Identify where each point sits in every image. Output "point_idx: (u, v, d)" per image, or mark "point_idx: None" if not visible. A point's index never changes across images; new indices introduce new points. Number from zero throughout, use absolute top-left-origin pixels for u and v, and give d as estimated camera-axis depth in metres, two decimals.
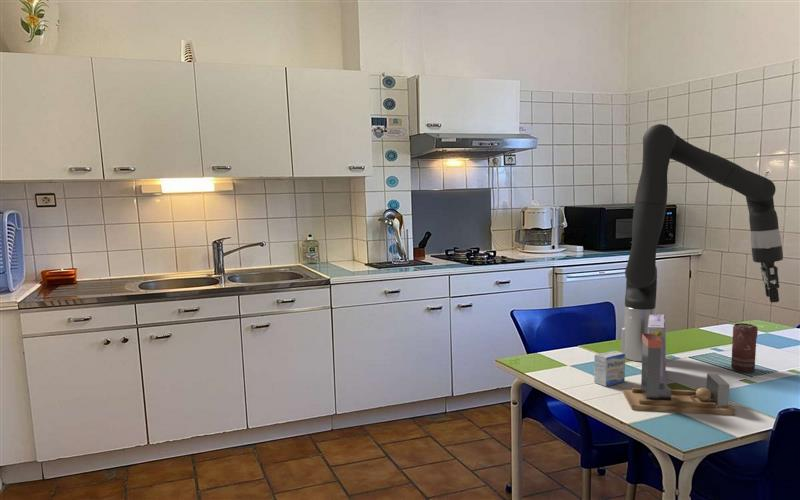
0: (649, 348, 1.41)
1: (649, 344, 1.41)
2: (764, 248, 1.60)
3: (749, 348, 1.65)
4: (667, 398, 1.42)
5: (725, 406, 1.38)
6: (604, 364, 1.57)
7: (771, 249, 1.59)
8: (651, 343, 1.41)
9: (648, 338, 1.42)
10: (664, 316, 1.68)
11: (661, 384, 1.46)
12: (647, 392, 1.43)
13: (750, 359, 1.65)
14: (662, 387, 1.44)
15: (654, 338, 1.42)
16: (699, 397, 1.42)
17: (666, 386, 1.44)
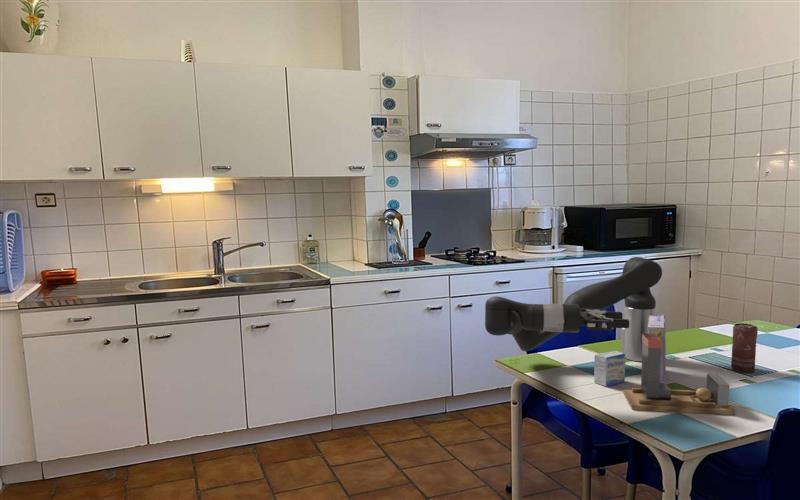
0: (649, 348, 1.41)
1: (649, 344, 1.41)
2: (563, 324, 1.44)
3: (749, 348, 1.65)
4: (667, 398, 1.42)
5: (725, 406, 1.38)
6: (604, 364, 1.57)
7: (565, 318, 1.44)
8: (651, 343, 1.41)
9: (648, 338, 1.42)
10: (664, 316, 1.68)
11: (661, 384, 1.46)
12: (647, 392, 1.43)
13: (750, 359, 1.65)
14: (662, 387, 1.44)
15: (654, 338, 1.42)
16: (699, 397, 1.42)
17: (666, 386, 1.44)
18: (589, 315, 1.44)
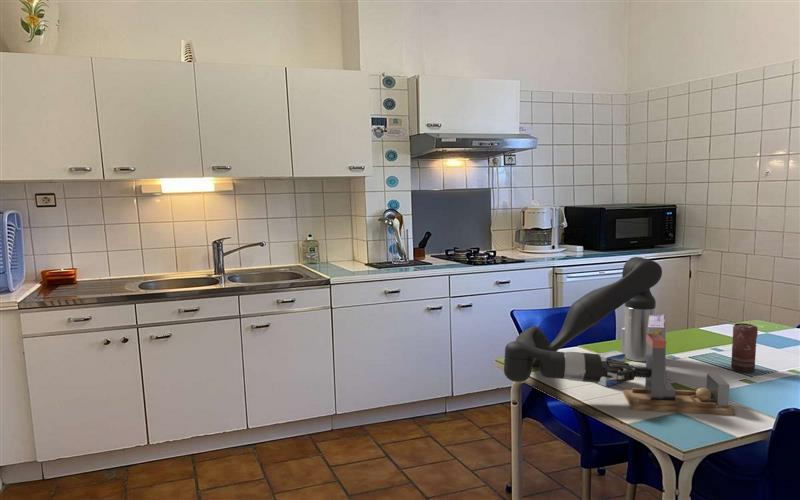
0: (653, 348, 1.41)
1: (653, 344, 1.41)
2: (584, 374, 1.43)
3: (749, 348, 1.65)
4: (671, 398, 1.42)
5: (725, 406, 1.38)
6: None
7: (587, 368, 1.43)
8: (655, 343, 1.41)
9: (652, 338, 1.42)
10: (664, 316, 1.68)
11: (665, 384, 1.46)
12: (651, 392, 1.42)
13: (750, 359, 1.65)
14: (667, 387, 1.44)
15: (658, 338, 1.42)
16: (699, 397, 1.42)
17: (670, 386, 1.44)
18: (610, 366, 1.43)
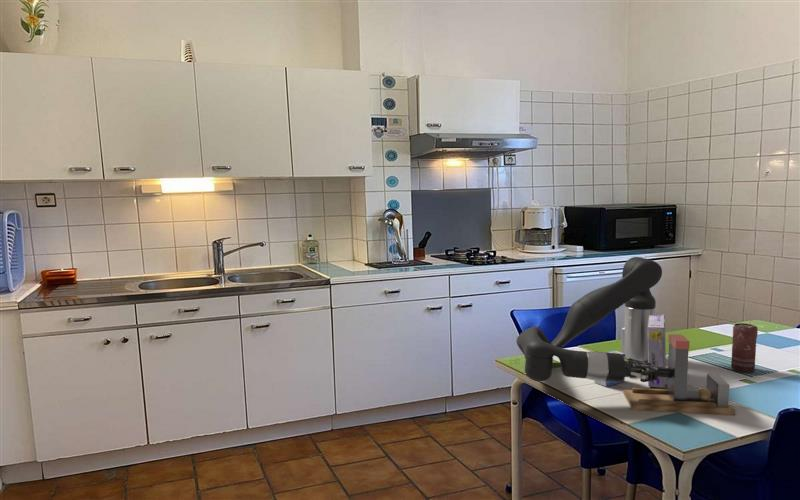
0: (677, 349, 1.40)
1: (677, 345, 1.40)
2: (607, 374, 1.41)
3: (749, 348, 1.65)
4: (695, 399, 1.41)
5: (725, 406, 1.38)
6: None
7: (610, 368, 1.41)
8: (678, 344, 1.40)
9: (675, 339, 1.41)
10: (664, 316, 1.68)
11: (688, 385, 1.45)
12: (674, 393, 1.41)
13: (750, 359, 1.65)
14: (689, 388, 1.43)
15: (681, 339, 1.41)
16: (699, 397, 1.42)
17: (693, 387, 1.43)
18: (633, 366, 1.42)
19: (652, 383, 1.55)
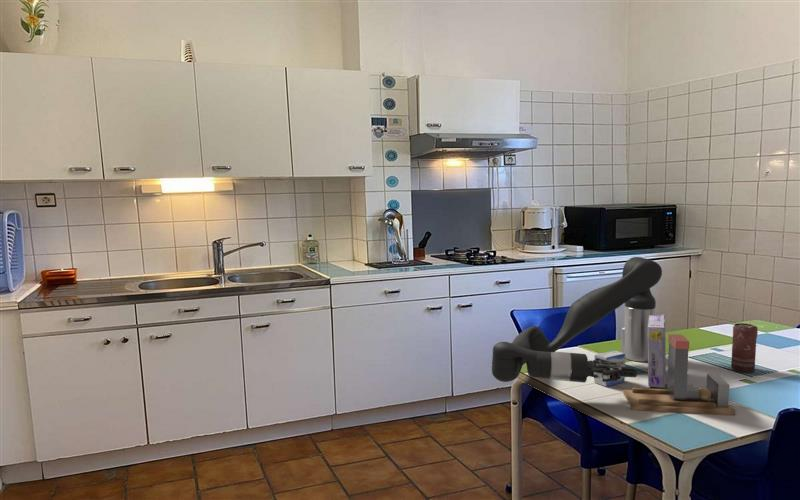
0: (676, 349, 1.40)
1: (676, 345, 1.40)
2: (571, 374, 1.44)
3: (749, 348, 1.65)
4: (694, 399, 1.41)
5: (725, 406, 1.38)
6: None
7: (573, 368, 1.44)
8: (678, 344, 1.40)
9: (675, 339, 1.41)
10: (664, 316, 1.68)
11: (688, 385, 1.45)
12: (674, 393, 1.41)
13: (750, 359, 1.65)
14: (689, 388, 1.43)
15: (681, 339, 1.41)
16: (699, 397, 1.42)
17: (693, 387, 1.43)
18: (596, 366, 1.44)
19: (652, 383, 1.55)
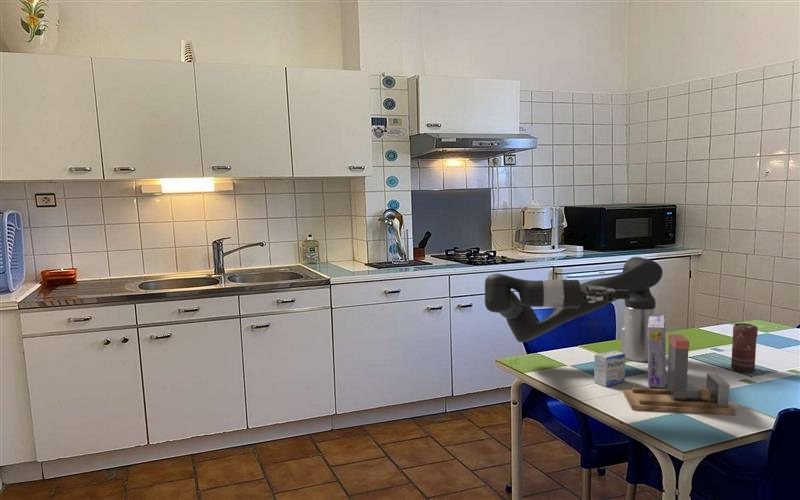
0: (676, 349, 1.40)
1: (676, 345, 1.40)
2: (563, 299, 1.43)
3: (749, 348, 1.65)
4: (694, 399, 1.41)
5: (725, 406, 1.38)
6: (604, 364, 1.57)
7: (565, 293, 1.43)
8: (678, 344, 1.40)
9: (675, 339, 1.41)
10: (664, 316, 1.68)
11: (688, 385, 1.45)
12: (674, 393, 1.41)
13: (750, 359, 1.65)
14: (689, 388, 1.43)
15: (681, 339, 1.41)
16: (699, 397, 1.42)
17: (693, 387, 1.43)
18: (589, 290, 1.43)
19: (652, 383, 1.55)
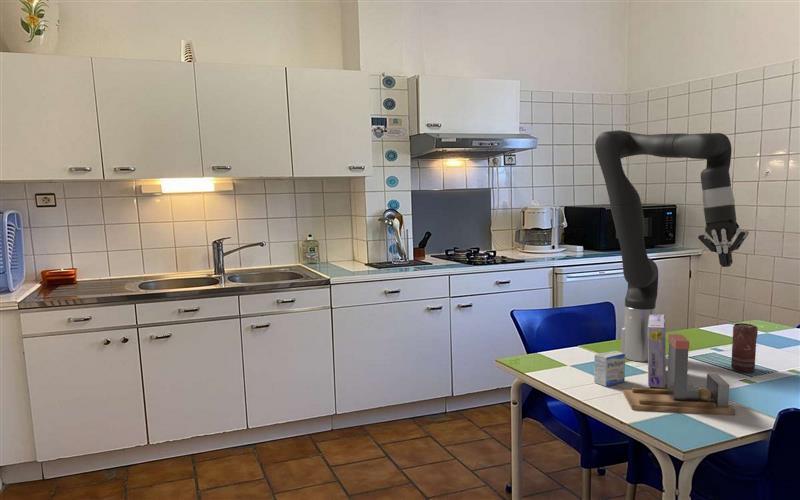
0: (676, 349, 1.40)
1: (676, 345, 1.40)
2: (731, 205, 1.50)
3: (749, 348, 1.65)
4: (694, 399, 1.41)
5: (725, 406, 1.38)
6: (604, 364, 1.57)
7: (734, 206, 1.51)
8: (678, 344, 1.40)
9: (675, 339, 1.41)
10: (664, 316, 1.68)
11: (688, 385, 1.45)
12: (674, 393, 1.41)
13: (750, 359, 1.65)
14: (689, 388, 1.43)
15: (681, 339, 1.41)
16: (699, 397, 1.42)
17: (693, 387, 1.43)
18: None
19: (652, 383, 1.55)
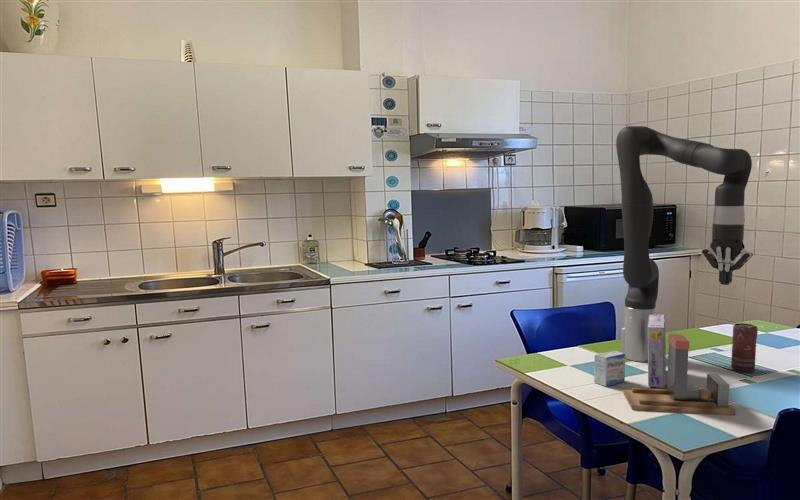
0: (676, 349, 1.40)
1: (676, 345, 1.40)
2: (740, 224, 1.48)
3: (749, 348, 1.65)
4: (694, 399, 1.41)
5: (725, 406, 1.38)
6: (604, 364, 1.57)
7: (743, 226, 1.49)
8: (678, 344, 1.40)
9: (675, 339, 1.41)
10: (664, 316, 1.68)
11: (688, 385, 1.45)
12: (674, 393, 1.41)
13: (750, 359, 1.65)
14: (689, 388, 1.43)
15: (681, 339, 1.41)
16: (699, 397, 1.42)
17: (693, 387, 1.43)
18: None
19: (652, 383, 1.55)
